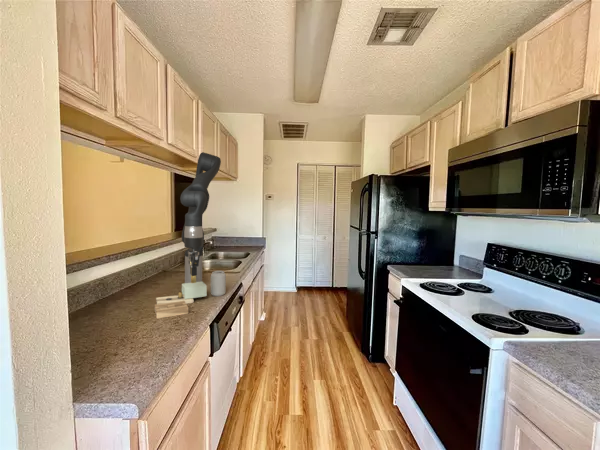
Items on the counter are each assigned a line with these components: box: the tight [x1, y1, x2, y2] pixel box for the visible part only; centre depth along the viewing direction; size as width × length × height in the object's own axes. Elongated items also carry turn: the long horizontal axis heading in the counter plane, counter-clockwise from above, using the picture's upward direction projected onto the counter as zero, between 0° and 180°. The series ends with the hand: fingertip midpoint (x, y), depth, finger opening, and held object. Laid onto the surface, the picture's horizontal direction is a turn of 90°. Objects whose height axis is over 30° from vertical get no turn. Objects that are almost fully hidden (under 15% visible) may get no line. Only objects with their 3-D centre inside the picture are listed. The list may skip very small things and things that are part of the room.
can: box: [210, 270, 227, 297], centre depth 145 cm, size 8×8×12 cm
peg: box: [191, 263, 196, 283], centre depth 124 cm, size 2×2×9 cm
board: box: [155, 291, 194, 305], centre depth 132 cm, size 10×15×4 cm, turn 122°
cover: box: [181, 280, 208, 299], centre depth 137 cm, size 8×10×5 cm
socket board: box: [154, 301, 189, 320], centre depth 120 cm, size 10×12×2 cm
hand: (193, 274), depth 124 cm, fingers closed on peg, 2 cm apart
